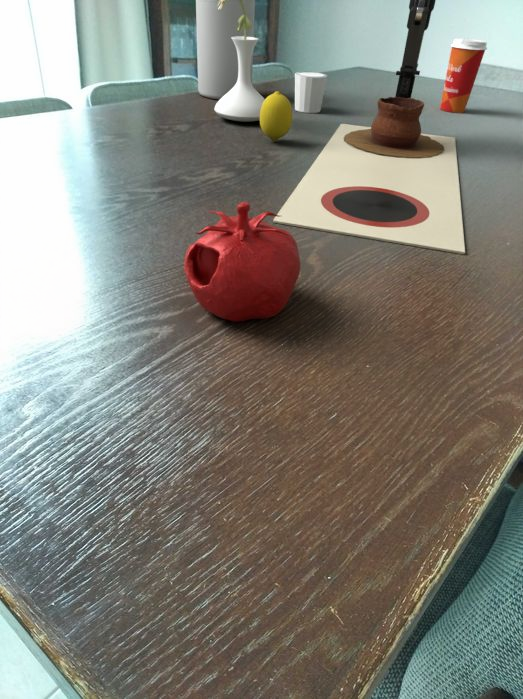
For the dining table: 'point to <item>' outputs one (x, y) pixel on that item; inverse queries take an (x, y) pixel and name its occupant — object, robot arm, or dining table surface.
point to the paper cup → (461, 73)
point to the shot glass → (309, 91)
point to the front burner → (375, 206)
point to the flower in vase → (241, 80)
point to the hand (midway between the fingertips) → (399, 115)
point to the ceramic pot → (396, 131)
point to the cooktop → (388, 173)
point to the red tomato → (243, 267)
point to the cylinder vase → (220, 44)
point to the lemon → (275, 116)
